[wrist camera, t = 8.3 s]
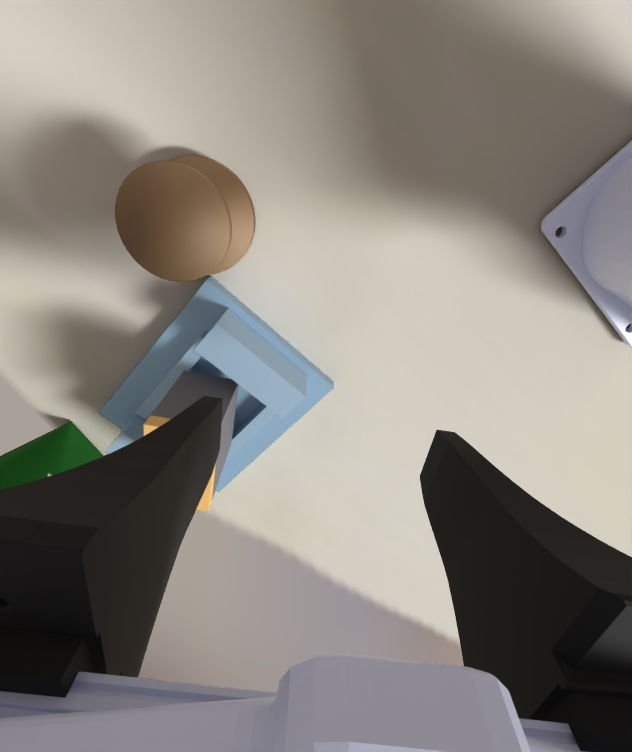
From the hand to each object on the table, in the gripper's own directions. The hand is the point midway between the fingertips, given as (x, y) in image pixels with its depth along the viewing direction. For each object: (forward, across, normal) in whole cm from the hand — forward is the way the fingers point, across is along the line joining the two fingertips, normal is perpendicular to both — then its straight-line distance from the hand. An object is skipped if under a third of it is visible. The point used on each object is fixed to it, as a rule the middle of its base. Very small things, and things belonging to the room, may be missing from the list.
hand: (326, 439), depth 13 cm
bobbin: (+10, +7, -5) cm, 13 cm away
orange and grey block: (+8, +6, +5) cm, 11 cm away
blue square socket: (+10, +6, +5) cm, 12 cm away
